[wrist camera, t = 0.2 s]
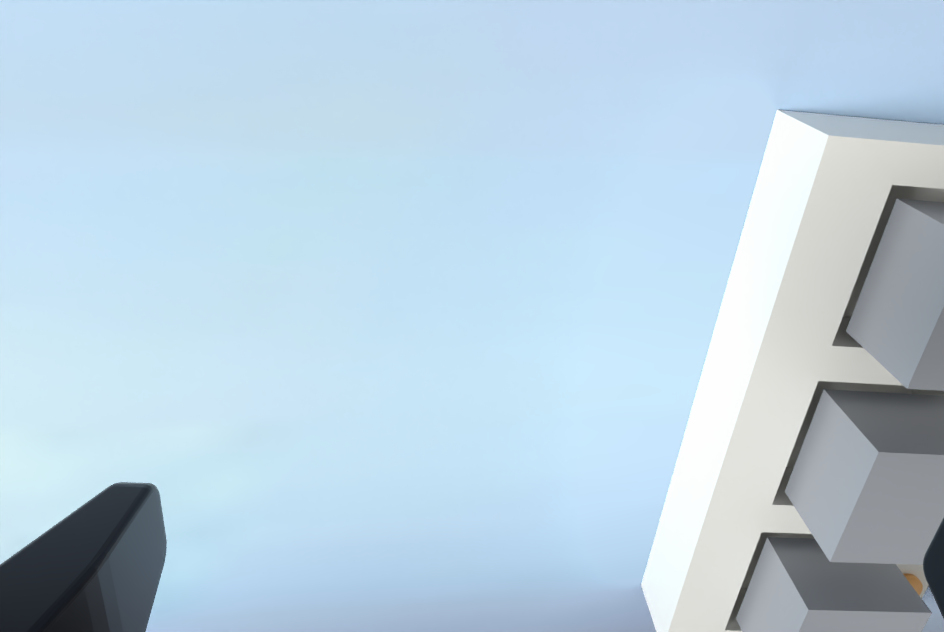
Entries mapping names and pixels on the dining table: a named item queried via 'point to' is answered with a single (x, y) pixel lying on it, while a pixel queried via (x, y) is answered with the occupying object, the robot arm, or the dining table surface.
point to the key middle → (872, 476)
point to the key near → (906, 297)
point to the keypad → (782, 353)
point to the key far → (826, 593)
